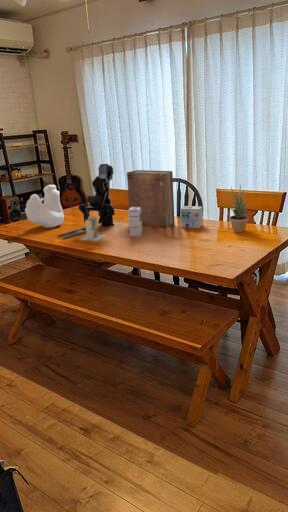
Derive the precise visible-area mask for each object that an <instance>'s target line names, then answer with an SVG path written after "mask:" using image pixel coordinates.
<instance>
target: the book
mask: <svg viewBox="0 0 288 512" xmlns="http://www.w3.org/2000/svg"><path fill="white" fill-rule="evenodd" d="M173 177H174V176H173V171H172V170H148V169H147V170H144V169H143V170H142V169H137V170H132V171H127V172H126V179H127V181H126V182H127V191H128V203H129V209H130V208H131V207H141V216H142V226H147V227H156V228H162V229H167V227H168V226H170V225H175V223H176V222H175V204H174V203H175V201H174V200H175V199H174V198H175V197H174V180H173V179H174V178H173Z"/></svg>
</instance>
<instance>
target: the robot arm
mask: <svg viewBox="0 0 288 512" xmlns="http://www.w3.org/2000/svg"><path fill="white" fill-rule="evenodd" d="M114 173H115V172H114V167H113V166H112V165H110V164H108V163H100V164H99V166H98V175H97V176H96V177H94V180H92V182H91V183H92V184H91V185H92V188H93V190H94V193H95V194H94V195H87V196H86V203H89V204H88V205H89V206H88V205H87V204H86V203H82V204H79V205H78V207H77V208H78V210H79V211H80V212H81V213H82V214H83V222H84V224H85V220H87V219H89V218H90V215H91V214H90V212H97V213H98V214H97V215H98V217H99V218H98V220H97V224H99V225H100V226H102V227H103V228H104V227H105V228H106V227H112V226H115V224H114V219H113V217H114V215H116V212H115V208H114V206H113V204H112V201H111V199H110V192H111V190H110V185H111V184H110V183H111V180H112V179H113V178H114V177H113V176H114Z"/></svg>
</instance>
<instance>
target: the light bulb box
mask: <svg viewBox="0 0 288 512" xmlns="http://www.w3.org/2000/svg"><path fill="white" fill-rule="evenodd" d="M203 223H204V222H203V206H197V205H195V206H191V205H184V206H182V207H181V208H180V225H181V228H185V229H186V228H187V229H188V228H189V229H200V228H202V227H203Z"/></svg>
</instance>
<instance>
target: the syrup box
mask: <svg viewBox="0 0 288 512" xmlns="http://www.w3.org/2000/svg"><path fill="white" fill-rule="evenodd" d="M127 215H128V225H129V226H128V227H129V235H130V237H141V236H142V235H143V234H144V230H143V225H142V216H141V207H131V208H130V207H129V209H128V210H127Z"/></svg>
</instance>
